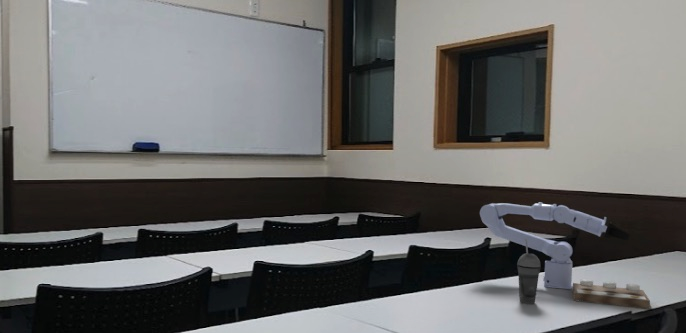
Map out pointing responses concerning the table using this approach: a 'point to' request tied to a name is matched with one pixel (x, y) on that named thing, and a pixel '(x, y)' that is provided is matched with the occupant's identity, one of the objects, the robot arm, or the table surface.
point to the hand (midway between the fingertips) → (628, 237)
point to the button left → (586, 283)
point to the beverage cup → (528, 276)
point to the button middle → (609, 285)
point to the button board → (610, 296)
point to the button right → (632, 287)
